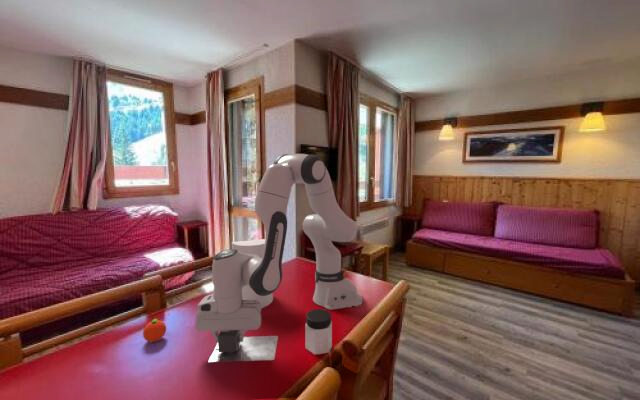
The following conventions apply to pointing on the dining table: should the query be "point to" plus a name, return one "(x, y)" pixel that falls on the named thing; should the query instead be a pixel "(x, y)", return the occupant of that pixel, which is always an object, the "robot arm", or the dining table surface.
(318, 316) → the jar
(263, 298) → the cylinder
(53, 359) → the dining table surface
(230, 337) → the dark gray cube
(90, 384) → the dining table surface
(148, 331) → the clementine
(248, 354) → the plate
